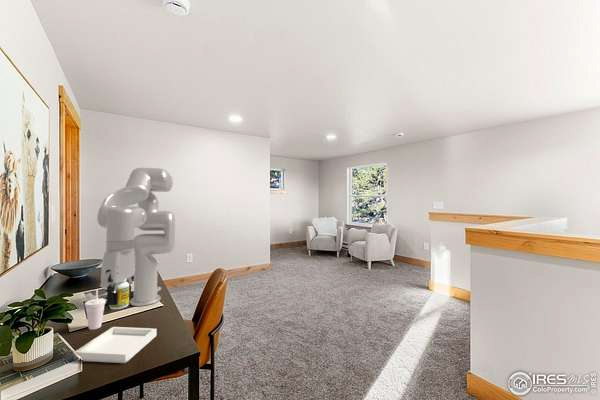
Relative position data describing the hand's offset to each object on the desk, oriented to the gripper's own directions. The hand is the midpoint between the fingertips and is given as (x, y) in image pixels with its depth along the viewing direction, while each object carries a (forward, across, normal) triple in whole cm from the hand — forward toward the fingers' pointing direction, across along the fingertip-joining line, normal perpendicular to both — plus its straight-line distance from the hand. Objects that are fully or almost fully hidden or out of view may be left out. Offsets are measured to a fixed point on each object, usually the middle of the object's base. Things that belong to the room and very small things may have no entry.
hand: (119, 300), depth 89 cm
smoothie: (+15, -12, -18) cm, 27 cm away
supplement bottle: (+2, 0, 0) cm, 2 cm away
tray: (+15, 0, 0) cm, 15 cm away
